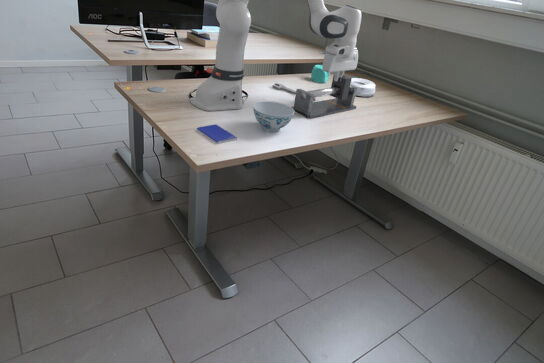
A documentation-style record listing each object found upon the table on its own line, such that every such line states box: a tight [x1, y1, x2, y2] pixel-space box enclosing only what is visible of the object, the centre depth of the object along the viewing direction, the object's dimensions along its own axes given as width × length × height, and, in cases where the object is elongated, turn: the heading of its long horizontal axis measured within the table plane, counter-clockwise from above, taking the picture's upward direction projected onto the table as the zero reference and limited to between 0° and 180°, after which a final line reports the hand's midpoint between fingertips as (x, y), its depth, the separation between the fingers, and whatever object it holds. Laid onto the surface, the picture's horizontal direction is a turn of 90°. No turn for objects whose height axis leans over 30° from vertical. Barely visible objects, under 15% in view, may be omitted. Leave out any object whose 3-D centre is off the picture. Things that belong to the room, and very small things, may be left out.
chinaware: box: [252, 100, 295, 133], centre depth 138 cm, size 15×15×8 cm
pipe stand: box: [290, 85, 357, 120], centre depth 166 cm, size 32×12×10 cm, turn 133°
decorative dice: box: [310, 64, 331, 84], centre depth 208 cm, size 8×8×8 cm
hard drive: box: [196, 123, 238, 145], centre depth 128 cm, size 2×8×12 cm
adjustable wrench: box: [272, 82, 317, 102], centre depth 182 cm, size 25×6×2 cm, turn 46°
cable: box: [350, 77, 376, 98], centre depth 199 cm, size 18×18×6 cm
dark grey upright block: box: [329, 74, 353, 100], centre depth 169 cm, size 4×7×10 cm, turn 43°
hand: (337, 80), depth 165 cm, fingers closed
